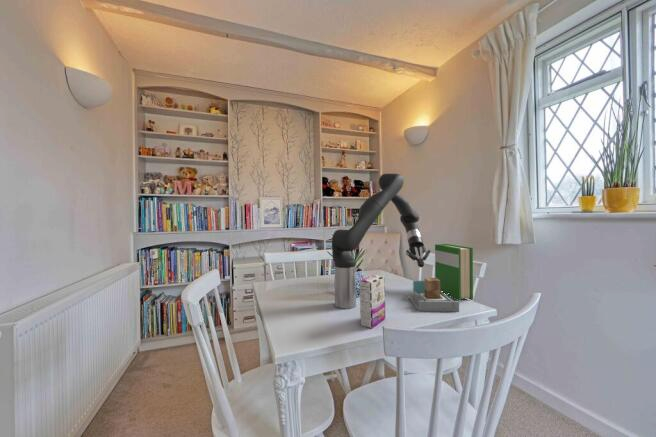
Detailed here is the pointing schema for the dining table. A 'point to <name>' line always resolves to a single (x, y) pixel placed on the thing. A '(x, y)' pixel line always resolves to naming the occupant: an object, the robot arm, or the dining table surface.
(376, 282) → the candy bar box
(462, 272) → the hardback book
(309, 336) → the dining table surface
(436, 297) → the walnut block
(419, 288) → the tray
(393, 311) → the dining table surface
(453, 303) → the dock
